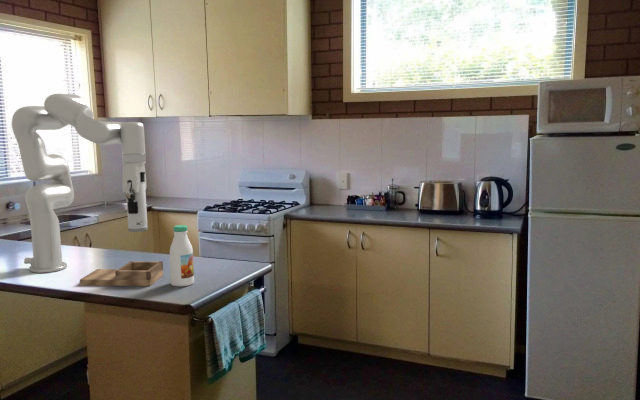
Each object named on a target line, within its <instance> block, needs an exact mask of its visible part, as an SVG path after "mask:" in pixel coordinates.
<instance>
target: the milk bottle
mask: <svg viewBox="0 0 640 400" xmlns="http://www.w3.org/2000/svg"><path fill="white" fill-rule="evenodd" d="M172 229H173V230H172V231H173V240H172V242H171V244H170V248H169V271H170V273H169V274H170V285H171V286H173V287H187V286H191V285H194V283H195V269H194V268H195V267H194V249H193V245H192V243H191V242H190V239H189V236H188V225H185V224H177V225H174V226H173V227H172Z"/></svg>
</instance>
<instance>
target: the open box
mask: <svg viewBox="0 0 640 400" xmlns="http://www.w3.org/2000/svg"><path fill="white" fill-rule="evenodd" d="M163 263H164V261H147V260H146V261H142V260H141V261H137V260H136V261H135V260H134V261H132V260H131V261H129V262H127V263H126V264H124V265H122V266H121V267H119V268H118V269H117V268H115V269H113V268H110V269H109V268H104V269H102V268H99V269H98V268H97V269H95V270H94V271H91V272H90V273H88V274H87V275H85V276H84V277H82V278H80V279H79V285H80V286H106V287H107V286H108V287H110V286H115V287H117V286H118V287H120V286H121V287H122V286H123V287H128V286H129V287H134V286H135V287H151V286H152V285H153V284H154V283H156V282H158V280H160V279H161V278H162V277H163V276H164V266H163V265H164V264H163Z"/></svg>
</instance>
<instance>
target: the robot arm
mask: <svg viewBox="0 0 640 400" xmlns="http://www.w3.org/2000/svg"><path fill="white" fill-rule="evenodd" d="M67 126H71V127H73V128H74V129H75V131H76V133H77V134H78V135H79V136H80V137H81V138H83V139H85V140H88V141H90V142H91V143H94V144H97V145H102V146H103V145H104V146H105V145H121V158H122V159H121V160H122V161H121V163H122V179H121V180H122V192H123V194H125V195H126V196H125V198H126V197H127V199H126V203H127V202H128V213H129V214H137V213H138V202H136V200H137V193H139V191H140V180H141V179H140V173H141V172H145V174H144V177H145V178H144V180H145V191H146V190H147V186H148V185H147V173H146V167H145V166H146V165H145V164H146V163H147V162H146V161H147V160H146V159H147V157H146V156H147V155H146V141H145V140H146V139H145V126H144V123H142V122H139V121H129V122H128V121H126V122H123V121H100V120H97V119H94V113H93V110H92V109H91V107H90V106H88V105H87V102H86V101H85V100H84V98H83V97H81V96H80V95H77V94H71V93H70V94H69V93H67V94H66V93H53V94H50V95H49V96H47V97H46V98H45V100H44V103H43V106H39V105H38V106H37V105H27V106H23V107H19V108H18V109H17V110H15V111H14V113H13V115H12V118H11V128H12V129H11V130H12V132H13V135H14V137H15V139H16V143H17V144H18V149H19V155H20V159H21V163H22V167H23V168H22V169H23V172H24V176H25V177H26V179H27V180H29V181H30V182H44V181H50V183H45V184H44V183H43V184H38V185H33V186H32V187H30V188H29V189H28V190H27V191H26V193H25V194H24V195H25V196H24V199H25V200H24V201H25V203H26V207H27V211H28V215H29V223H30V233H31V234H30V235H31V246H32V257H25V258H24V260H23V264H26V265H28V264H29V265H30V266H29V268H28V269H29V272H31V273H37V274H38V273H39V274H41V273H42V274H43V273H53V272H58V271H61V270H64V269H66V268H67V267H68V264H67V262H65V261H63V256H62V255H63V253H62V245H61V244H62V243H61V242H62V241H61V227H60V220H59V217H58V216H57V214H56V213H55V211H54V210H55V209H56V210H57V209H60V208H65V207H68V206H70V205H71V204H72V203H73V202H74V199H75V190H74V186H73V182H72V177H71V172H70V171H71V170H70V167H69V165H68V162H67V160H66V159H65V157H63V156H62V155H59V154H54V153H53V154H48V152H47V150H46V145H45V142H44V140H43V138H42V137H41V135H40V134H38V132H37V131H47V130H48V131H50V130H52V131H54V130H61V129H63V128H65V127H67ZM131 190H134V192H131ZM133 195H134V197H133Z"/></svg>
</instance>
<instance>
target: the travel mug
mask: <svg viewBox="0 0 640 400" xmlns="http://www.w3.org/2000/svg"><path fill="white" fill-rule="evenodd" d="M145 172H146V171H145ZM145 172H141V173H140V179H141V180H140V191H139V193H137V200H136V202H138V213H137V214H129V213H128V202H127V201H126V211H127V212H126V213H127V226H128V227H127V230H128V232H130V233H140V232H146V231H147V230H149V229H148V228H149V227H148V215H147V214H148V213H147V211H148V210H147V194H146V193H147V192H146V190H145V180H144V178H145V177H144V174H145ZM131 192H134V190H131ZM133 197H134V195H133ZM125 199H126V200H127V197H126V196H125Z"/></svg>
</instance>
